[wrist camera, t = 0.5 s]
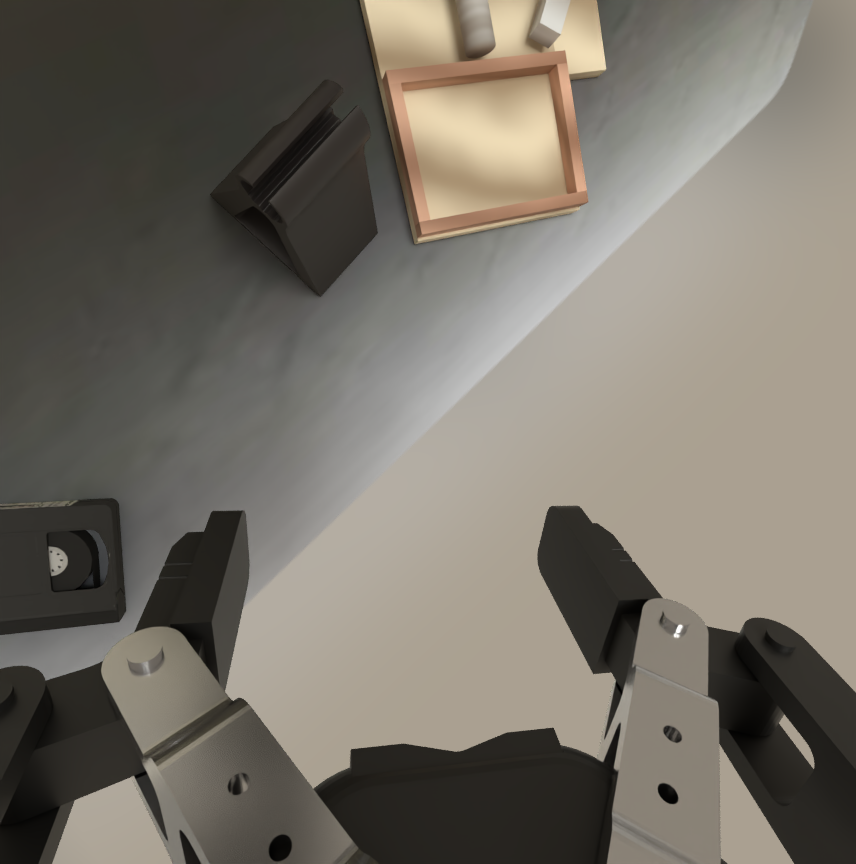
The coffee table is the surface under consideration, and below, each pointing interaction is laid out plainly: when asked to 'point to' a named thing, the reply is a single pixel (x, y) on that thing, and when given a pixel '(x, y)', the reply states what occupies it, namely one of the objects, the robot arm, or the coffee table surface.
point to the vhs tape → (58, 565)
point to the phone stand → (307, 190)
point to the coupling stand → (484, 107)
